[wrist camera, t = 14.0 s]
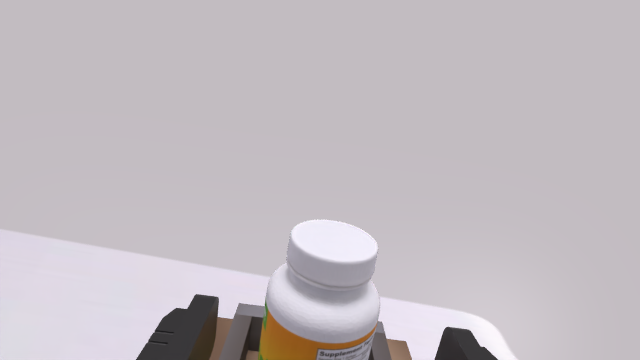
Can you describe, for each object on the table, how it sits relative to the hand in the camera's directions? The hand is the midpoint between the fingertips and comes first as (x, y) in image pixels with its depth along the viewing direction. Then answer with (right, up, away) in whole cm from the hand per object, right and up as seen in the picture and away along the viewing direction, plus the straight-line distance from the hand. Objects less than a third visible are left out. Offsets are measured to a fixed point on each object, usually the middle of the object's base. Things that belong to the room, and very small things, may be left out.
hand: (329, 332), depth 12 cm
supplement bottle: (-1, -7, +6) cm, 9 cm away
